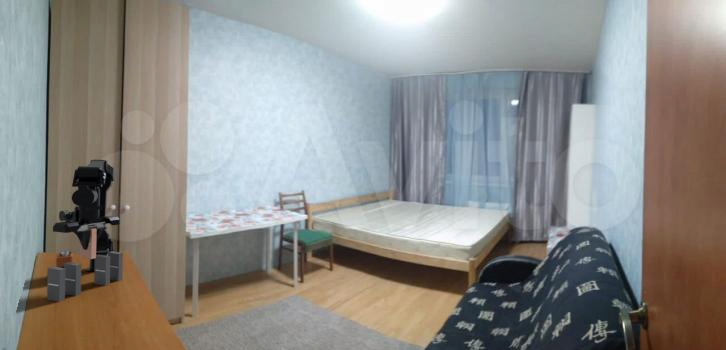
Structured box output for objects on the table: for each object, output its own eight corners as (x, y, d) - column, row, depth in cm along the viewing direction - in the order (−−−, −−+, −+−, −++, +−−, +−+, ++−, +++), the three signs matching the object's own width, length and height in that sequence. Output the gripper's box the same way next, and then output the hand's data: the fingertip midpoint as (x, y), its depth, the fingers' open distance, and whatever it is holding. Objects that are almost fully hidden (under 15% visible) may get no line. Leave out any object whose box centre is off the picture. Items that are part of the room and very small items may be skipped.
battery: (55, 283, 123) (56, 255, 123) (57, 277, 128) (58, 250, 128) (72, 281, 126) (72, 253, 125) (73, 275, 131) (73, 249, 131)
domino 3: (84, 256, 121) (85, 227, 121) (96, 258, 120) (96, 228, 120) (79, 257, 120) (80, 228, 119) (91, 259, 118) (91, 229, 118)
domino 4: (98, 282, 126) (99, 254, 126) (109, 284, 125) (110, 256, 124) (94, 283, 124) (94, 255, 124) (105, 285, 123) (106, 257, 123)
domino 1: (52, 297, 111) (53, 266, 111) (64, 299, 110) (65, 268, 110) (46, 299, 110) (47, 267, 109) (59, 301, 109) (59, 269, 108)
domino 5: (111, 277, 131) (112, 251, 130) (122, 279, 130) (122, 252, 129) (107, 279, 129) (107, 252, 129) (118, 281, 128) (118, 253, 128)
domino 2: (69, 292, 116) (69, 262, 116) (80, 294, 115) (81, 263, 115) (63, 293, 115) (64, 263, 114) (75, 296, 113) (76, 265, 113)
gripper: (97, 199, 130) (96, 241, 131) (40, 204, 112) (39, 252, 113) (121, 201, 128) (120, 244, 128) (66, 206, 110) (65, 256, 110)
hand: (88, 249), depth 120 cm, fingers closed on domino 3, 2 cm apart
